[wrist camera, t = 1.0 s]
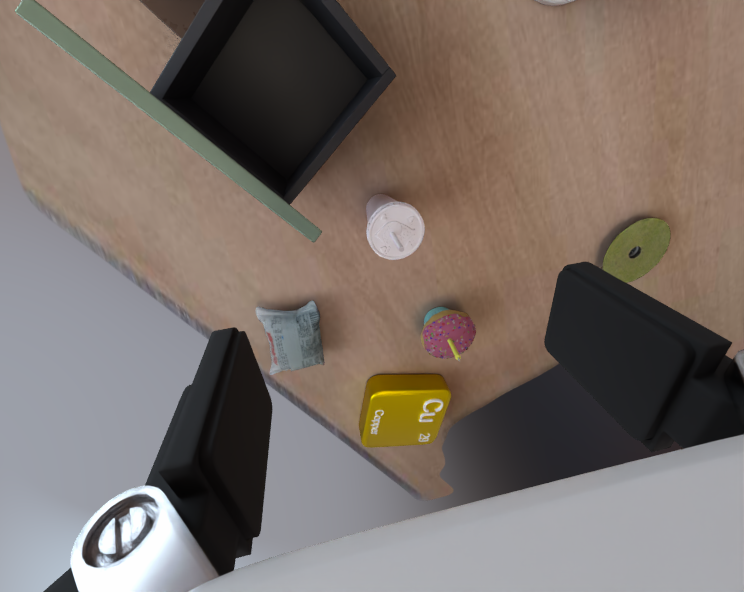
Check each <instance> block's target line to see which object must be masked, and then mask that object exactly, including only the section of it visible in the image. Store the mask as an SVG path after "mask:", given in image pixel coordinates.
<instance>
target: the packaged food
mask: <svg viewBox="0 0 744 592" xmlns="http://www.w3.org/2000/svg"><path fill="white" fill-rule="evenodd" d="M256 314H257V317H258V319H259V321H260V322H262V323H263V324H264V328H265V333H266V336H267V338H268V341H269V344H270V349H271V350H270V352H271V358H272V366H271V370H270V375H272V374H275V373H277V372H281V371H283V370H285V371H287V370H289V369H291V371H293V370H298V369H301V368H305V367H309V366H313V365H316V364H321V365H324V356H323V347H322V341H321V336H320V327H319V321H320V313H319V310H318V308H317V306H316V304H315V302H314V301H313V300H312V301H309V302H308V304H307V305H306V306H304V307H302V308H300V309H297V310H293V311H281V310H271V309H265V308H261V307H256Z"/></svg>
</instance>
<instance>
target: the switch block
mask: <svg viewBox="0 0 744 592" xmlns="http://www.w3.org/2000/svg"><path fill="white" fill-rule="evenodd" d="M140 1H141V2H142V3H143V4H144V5H145V6H146V7H147V8H148V9H149V10H150V11H152V12H153V13H154V14H155V15H156V16H157V17H158V18H159V19H160V20H161V21H162V22H164V23H165V24H166V25H167V26H168V27H169V28H170V29H171V30H172V31H173V32H174V33H176V34H177V35H178V36H179V37H180V38H181V39H182V38H183V37H184V35H185V33H186V32H187V30H188V28H189V27H190V25H191V23H192V22H193V20H194V18H195V17H196V15H197V13H198V12H199V10H200V8H201V7H202V5H203V3H204V2H205V0H140Z"/></svg>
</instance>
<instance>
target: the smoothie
mask: <svg viewBox="0 0 744 592" xmlns="http://www.w3.org/2000/svg"><path fill="white" fill-rule="evenodd" d="M366 211H367V219H368V225H367V232H366V233H367V240H368V242H369V244H370V246H371V247H372V249H373V250H374V251H375V252H376V253H377V254H378V255H379V256H381V257H383V258H386V259H390V260H397V259H402V258H405V257H407V256H409V255H410V254H412V253H413V252H414V251H415V250H416V249H417V248H418V247H419V246H420V244H421V242H422V240H423V237H424V232H425V226H424V221H423V219H422V217H421V215H420V214H419V212H418V211H417V209H415V208H414V207H413V206H412V205H410V204H407V203H405V202H398V201H396V200H394V199H393V198H391V197H389V196H387V195H385V194H377V195H375V196H373V197H372V198H370V200H369V201H368V203H367V207H366Z"/></svg>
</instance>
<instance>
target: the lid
mask: <svg viewBox="0 0 744 592" xmlns="http://www.w3.org/2000/svg"><path fill="white" fill-rule="evenodd" d="M15 12H16V13H17V14H18V15H19V16H20V17H21V18H23V19H24V20H25V21H27V22H28V23H29V24H31V25H32V26H33V27H34V28H36V29H37V30H38V31H40V32H41V33H42V34H44V35H45V36H46V37H47V38H49V39H50V40H51V41H53V42H54V43H55V44H56V45H58V46H59V47H60V48H62V49H63V50H64V51H66V52H67V53H68V54H69V55H71V56H72V57H73V58H75V59H76V60H77V61H79V62H80V63H81V64H82V65H84V66H85V67H86V68H88V69H89V70H90V71H91V72H93V73H94V74H95V75H97V76H98V77H99V78H101V79H102V80H103V81H104V82H106V83H107V84H108V85H110V86H111V87H112V88H114V89H115V90H116V91H117V92H119V93H120V94H121V95H123V96H124V97H125V98H126V99H128V100H129V101H130V102H132V103H133V104H134V105H136V106H137V107H138V108H139V109H141V110H142V111H143V112H145V113H146V114H147V115H149V116H150V117H151V118H152V119H154V120H155V121H156V122H158V123H159V124H160V125H162V126H163V127H164V128H165V129H167V130H168V131H169V132H171V133H172V134H173V135H174V136H176V137H177V138H178V139H180V140H181V141H182V142H184V143H185V144H186V145H187V146H189V147H190V148H191V149H193V150H194V151H195V152H197V153H198V154H199V155H200V156H202V157H203V158H204V159H206V160H207V161H208V162H209V163H211V164H212V165H213V166H215V167H216V168H217V169H219V170H220V171H221V172H222V173H224V174H225V175H226V176H228V177H229V178H230V179H232V180H233V181H234V182H235V183H237V184H238V185H239V186H241V187H242V188H243V189H244V190H246V191H247V192H248V193H250V194H251V195H252V196H254V197H255V198H256V199H257V200H259V201H260V202H261V203H263V204H264V205H265V206H267V207H268V208H269V209H270V210H272V211H273V212H274V213H276V214H277V215H278V216H280V217H281V218H282V219H283V220H285V221H286V222H287V223H289V224H290V225H291V226H292V227H294V228H295V229H296V230H298V231H299V232H300V233H302V234H303V235H304V236H305V237H307V238H308V239H309V240H311V241H312V242H315V241H316V240H317V238H318V237H319V236H320V234H321V233H322V231H321V230H320V229H319V228H318V227H316V226H315V225H314V224H313V223H311V222H310V221H309V220H308V219H306V218H305V217H304V216H303V215H301V214H300V213H299V212H298V211H296V210H295V209H294V208H293V207H292V206H290V205H289V204H288V203H287V202H285V201H284V200H283V199H282V198H280V197H279V196H278V195H277V194H275V193H274V192H273V191H272V190H270V189H269V188H268V187H267V186H265V185H264V184H263V183H262V182H260V181H259V180H258V179H257V178H255V177H254V176H253V175H252V174H250V173H249V172H248V171H247V170H245V169H244V168H243V167H242V166H241V165H239V164H238V163H237V162H236V161H234V160H233V159H232V158H231V157H229V156H228V155H227V154H226V153H224V152H223V151H222V150H221V149H219V148H218V147H217V146H216V145H214V144H213V143H212V142H211V141H209V140H208V139H207V138H206V137H204V136H203V135H202V134H201V133H199V132H198V131H197V130H196V129H194V128H193V127H192V126H191V125H189V124H188V123H187V122H186V121H185V120H183V119H182V118H181V117H180V116H178V115H177V114H176V113H175V112H173V111H172V110H171V109H170V108H168V107H167V106H166V105H165V104H163V103H162V102H161V101H160V100H158V99H157V98H156V97H155V96H153V95H152V94H151V93H150V92H148V91H147V90H146V89H145V88H143V87H142V86H141V85H140V84H138V83H137V82H136V81H135V80H134V79H132V78H131V77H130V76H129V75H127V74H126V73H125V72H124V71H122V70H121V69H120V68H119V67H117V66H116V65H115V64H114V63H112V62H111V61H110V60H109V59H107V58H106V57H105V56H104V55H102V54H101V53H100V52H99V51H97V50H96V49H95V48H94V47H92V46H91V45H90V44H89V43H87V42H86V41H85V40H84V39H83V38H81V37H80V36H79V35H78V34H76V33H75V32H74V31H73V30H71V29H70V28H69V27H68V26H66V25H65V24H64V23H63V22H61V21H60V20H59V19H58V18H56V17H55V16H54V15H53V14H51V13H50V12H49V11H48V10H46V9H45V8H44V7H43V6H41V5H40V4H39V3H38V2H36V1H35V0H22V1H21V3H20V4H19V6H18V7H17V8H16V10H15Z"/></svg>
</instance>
